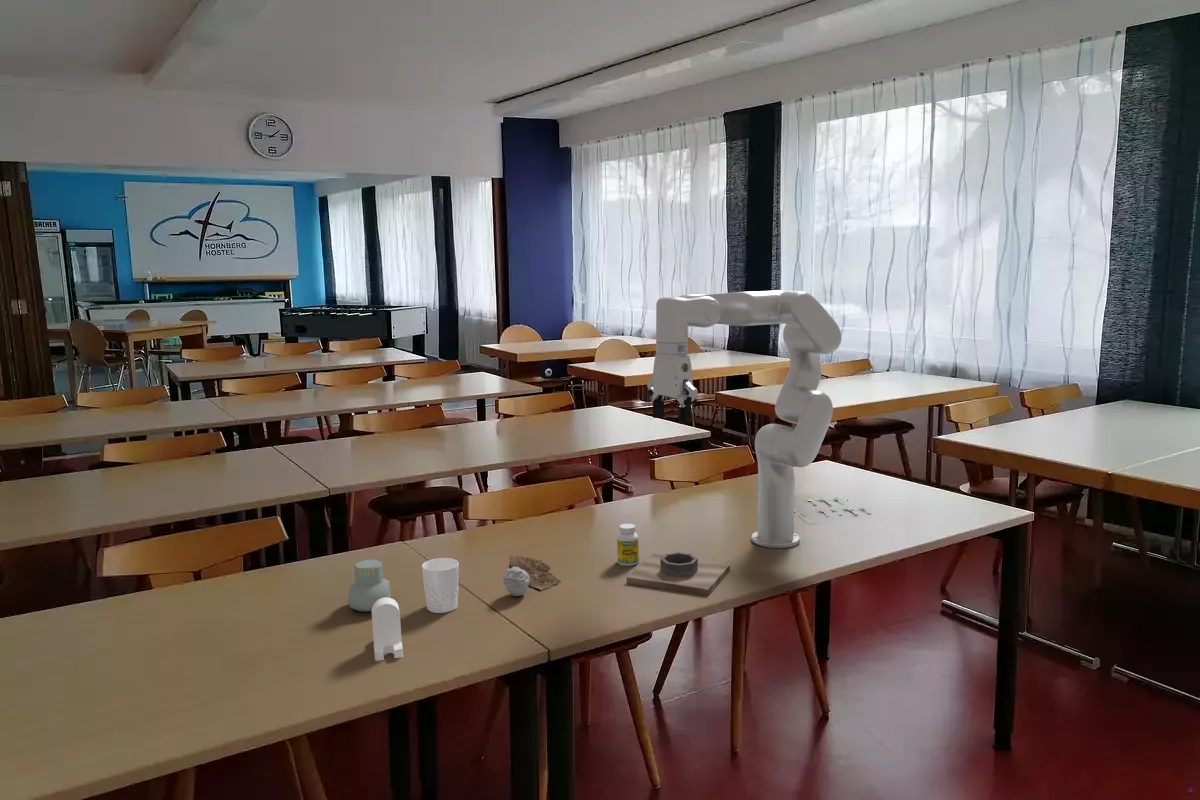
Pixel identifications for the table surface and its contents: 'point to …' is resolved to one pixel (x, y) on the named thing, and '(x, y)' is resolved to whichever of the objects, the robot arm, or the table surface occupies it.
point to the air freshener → (368, 585)
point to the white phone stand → (386, 628)
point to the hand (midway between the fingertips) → (671, 420)
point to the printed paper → (831, 504)
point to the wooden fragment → (535, 572)
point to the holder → (679, 573)
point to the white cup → (441, 584)
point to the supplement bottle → (627, 545)
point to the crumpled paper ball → (516, 581)
